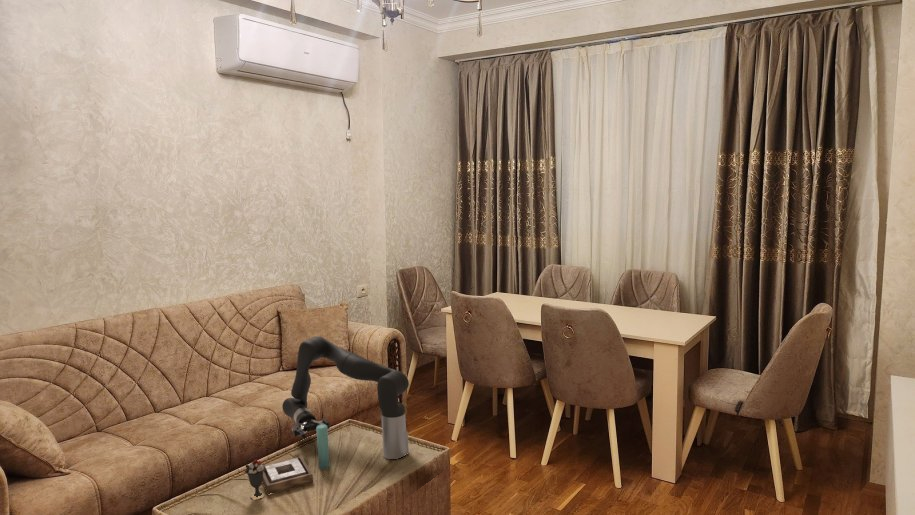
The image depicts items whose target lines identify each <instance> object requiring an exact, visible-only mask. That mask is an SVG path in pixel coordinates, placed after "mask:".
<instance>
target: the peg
mask: <svg viewBox="0 0 915 515" xmlns="http://www.w3.org/2000/svg"><path fill="white" fill-rule="evenodd" d="M315 431H316V440H317V441H316V442H317V455H318V456H317V457H318V458H317V459H318V468H319V469H320V470H326V469H328V468H330V450H329V434H328V432H329V431H327V425H319V426H317V427H316V430H315Z"/></svg>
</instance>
